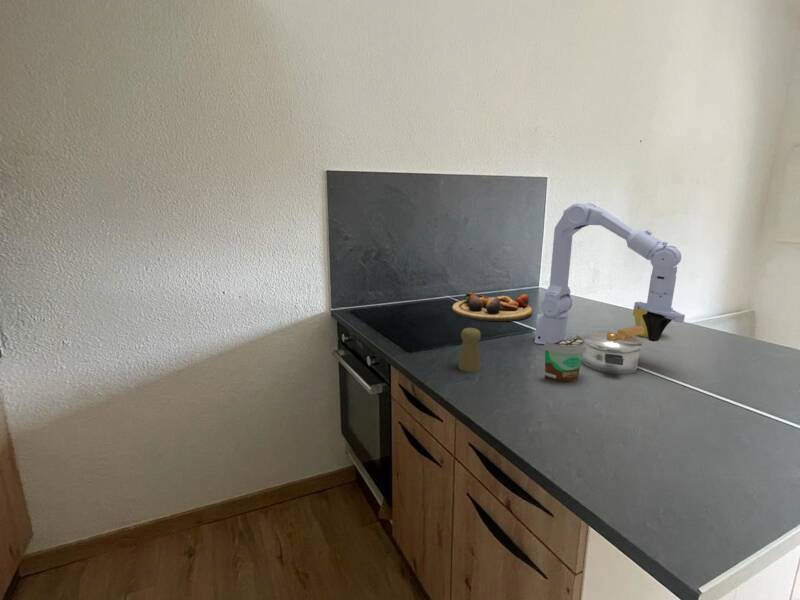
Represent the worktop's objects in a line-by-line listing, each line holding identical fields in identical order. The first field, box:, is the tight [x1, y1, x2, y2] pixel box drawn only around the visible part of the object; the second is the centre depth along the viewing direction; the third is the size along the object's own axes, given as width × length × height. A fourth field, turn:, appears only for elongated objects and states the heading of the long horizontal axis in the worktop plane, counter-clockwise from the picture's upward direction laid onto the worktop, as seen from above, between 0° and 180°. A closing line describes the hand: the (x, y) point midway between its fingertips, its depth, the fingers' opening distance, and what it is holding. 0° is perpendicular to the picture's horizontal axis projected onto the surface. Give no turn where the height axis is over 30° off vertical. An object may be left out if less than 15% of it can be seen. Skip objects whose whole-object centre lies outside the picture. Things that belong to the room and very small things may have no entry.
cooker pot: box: [581, 344, 641, 375], centre depth 120 cm, size 22×14×6 cm, turn 160°
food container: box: [542, 335, 586, 383], centre depth 109 cm, size 12×6×10 cm, turn 117°
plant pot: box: [632, 308, 648, 338], centre depth 145 cm, size 10×10×10 cm
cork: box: [457, 327, 482, 373], centre depth 115 cm, size 6×6×11 cm
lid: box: [582, 325, 645, 353], centre depth 120 cm, size 20×15×3 cm
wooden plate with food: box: [451, 291, 533, 322], centre depth 174 cm, size 32×32×8 cm
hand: (653, 340), depth 117 cm, fingers closed
